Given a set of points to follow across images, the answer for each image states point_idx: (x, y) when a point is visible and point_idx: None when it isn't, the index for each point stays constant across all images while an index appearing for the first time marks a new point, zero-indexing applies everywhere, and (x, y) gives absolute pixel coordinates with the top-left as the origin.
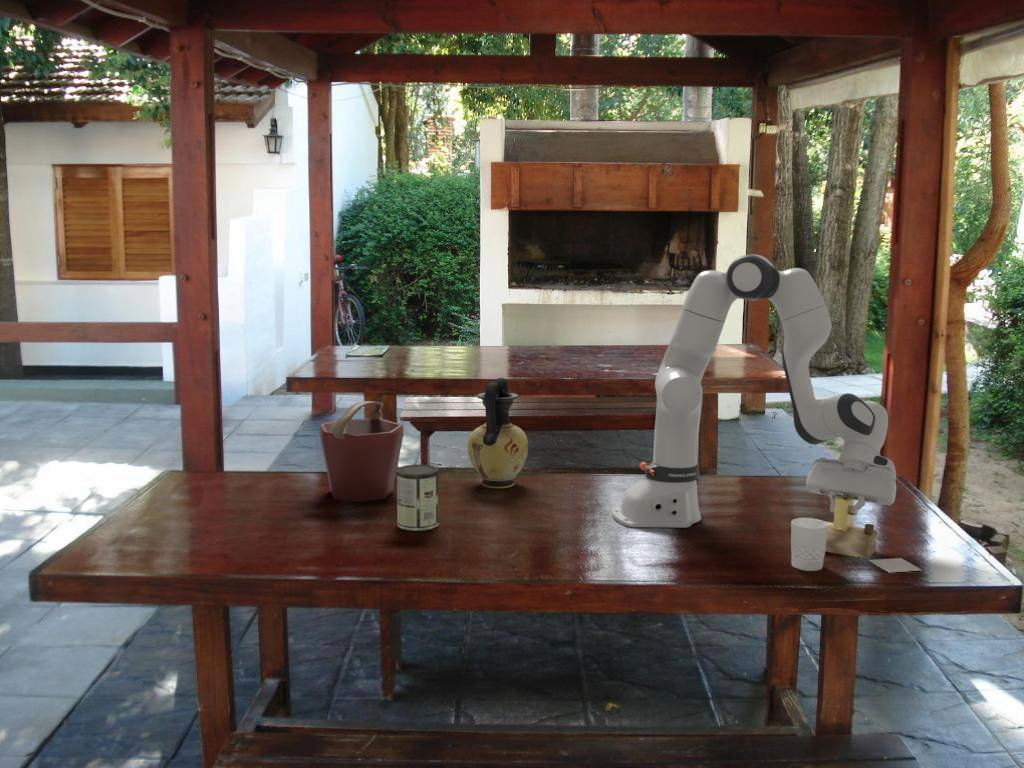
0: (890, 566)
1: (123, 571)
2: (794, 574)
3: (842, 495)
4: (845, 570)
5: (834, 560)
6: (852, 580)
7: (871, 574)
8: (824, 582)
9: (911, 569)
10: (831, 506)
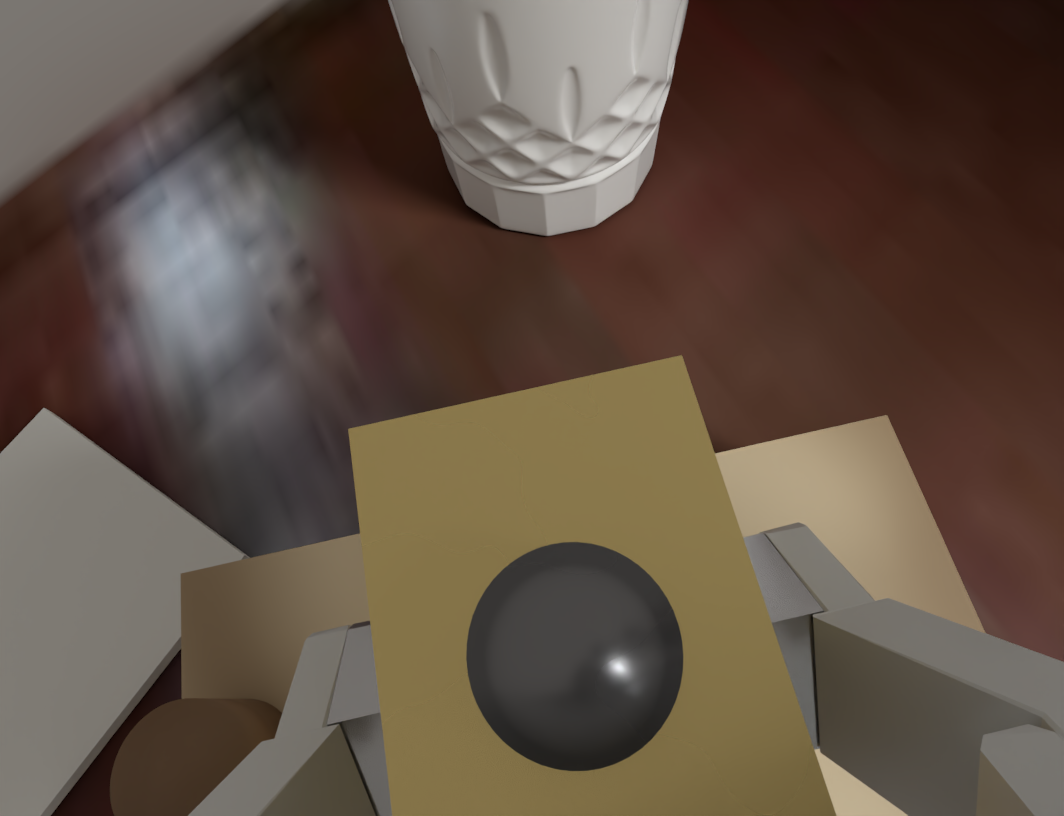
0: (54, 531)
1: None
2: None
3: (607, 557)
4: (323, 261)
5: (476, 381)
6: (221, 149)
7: (153, 317)
8: (337, 29)
9: None
10: (792, 540)
